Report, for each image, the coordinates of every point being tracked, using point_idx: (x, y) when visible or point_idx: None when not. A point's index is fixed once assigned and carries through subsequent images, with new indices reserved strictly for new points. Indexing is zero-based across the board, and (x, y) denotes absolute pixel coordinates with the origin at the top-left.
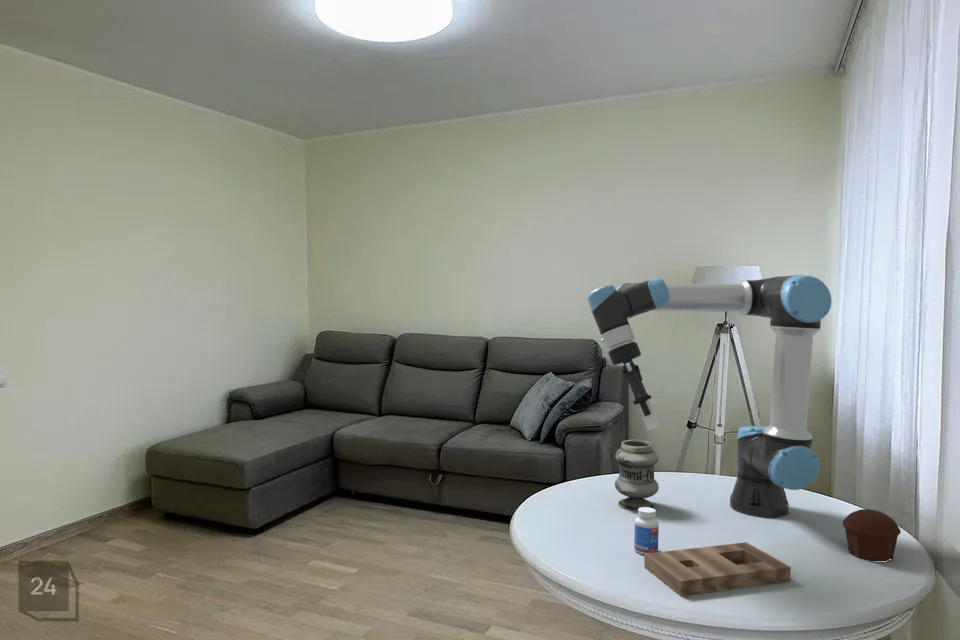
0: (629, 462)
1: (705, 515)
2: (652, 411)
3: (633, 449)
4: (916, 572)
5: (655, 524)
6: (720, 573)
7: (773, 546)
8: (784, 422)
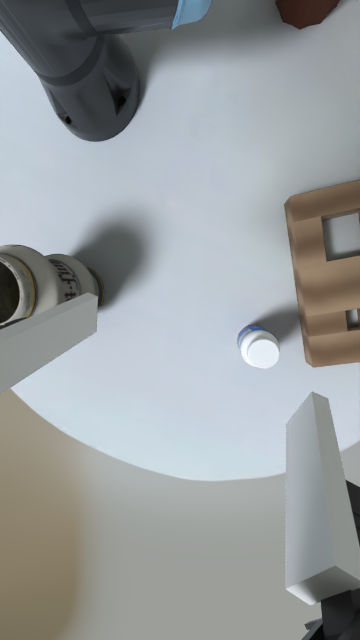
0: None
1: (124, 200)
2: (343, 476)
3: (25, 310)
4: None
5: (277, 341)
6: None
7: (256, 145)
8: None
